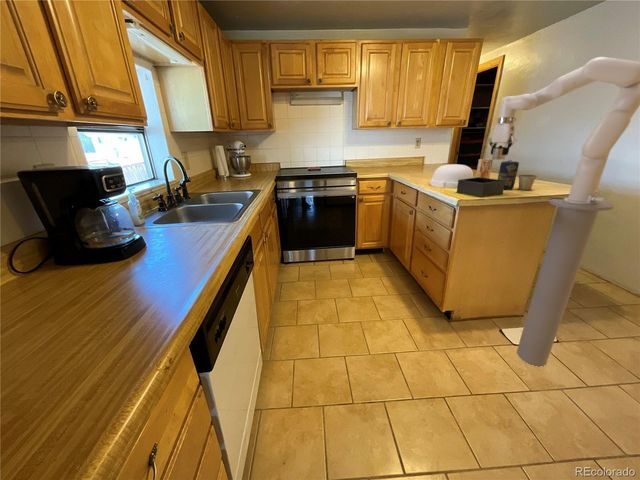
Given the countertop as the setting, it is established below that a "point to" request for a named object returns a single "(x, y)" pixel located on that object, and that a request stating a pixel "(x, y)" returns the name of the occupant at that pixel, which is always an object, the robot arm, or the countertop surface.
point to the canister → (508, 173)
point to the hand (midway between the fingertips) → (498, 154)
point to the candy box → (484, 168)
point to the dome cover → (450, 175)
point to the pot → (498, 153)
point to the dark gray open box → (480, 186)
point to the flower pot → (526, 181)
